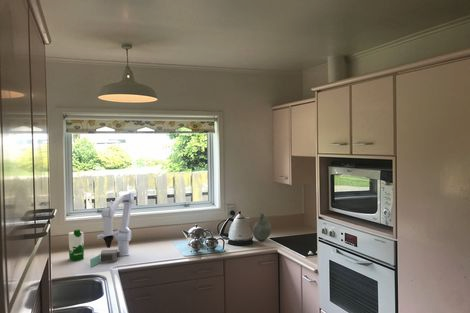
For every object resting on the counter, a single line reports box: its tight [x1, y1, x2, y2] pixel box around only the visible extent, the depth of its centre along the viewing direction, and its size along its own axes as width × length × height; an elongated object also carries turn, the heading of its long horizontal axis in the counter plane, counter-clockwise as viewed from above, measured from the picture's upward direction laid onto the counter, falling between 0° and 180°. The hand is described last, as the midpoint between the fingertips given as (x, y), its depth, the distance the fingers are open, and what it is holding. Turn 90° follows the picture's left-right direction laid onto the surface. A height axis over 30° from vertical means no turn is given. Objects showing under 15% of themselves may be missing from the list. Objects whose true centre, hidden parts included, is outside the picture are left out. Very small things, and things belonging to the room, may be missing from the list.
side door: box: [89, 254, 101, 268], centre depth 242 cm, size 1×10×5 cm, turn 166°
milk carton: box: [68, 229, 85, 262], centre depth 253 cm, size 9×9×20 cm
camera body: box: [100, 248, 121, 264], centre depth 251 cm, size 8×12×6 cm
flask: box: [252, 212, 272, 242], centre depth 300 cm, size 12×17×22 cm
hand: (108, 247), depth 245 cm, fingers closed
